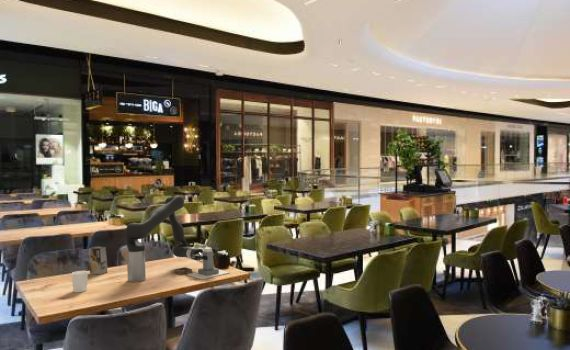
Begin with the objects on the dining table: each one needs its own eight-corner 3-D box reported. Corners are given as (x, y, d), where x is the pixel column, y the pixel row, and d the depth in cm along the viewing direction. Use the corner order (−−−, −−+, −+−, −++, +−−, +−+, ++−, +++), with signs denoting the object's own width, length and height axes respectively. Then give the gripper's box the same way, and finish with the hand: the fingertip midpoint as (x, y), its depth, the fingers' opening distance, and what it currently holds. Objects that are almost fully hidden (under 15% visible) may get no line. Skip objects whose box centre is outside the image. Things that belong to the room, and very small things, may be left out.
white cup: (83, 288, 258) (82, 269, 258) (90, 290, 253) (90, 271, 253) (69, 291, 252) (68, 272, 252) (76, 293, 247) (75, 274, 247)
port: (202, 279, 272) (202, 274, 271) (187, 275, 283) (187, 270, 283) (229, 273, 285) (229, 268, 285) (214, 269, 297) (214, 264, 297)
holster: (180, 274, 285) (180, 271, 284) (173, 272, 290) (173, 269, 290) (191, 272, 290) (191, 269, 290) (184, 270, 296) (184, 267, 296)
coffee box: (108, 272, 296) (107, 246, 295) (101, 274, 290) (100, 248, 289) (95, 271, 298) (95, 246, 298) (89, 273, 292) (88, 248, 292)
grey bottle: (207, 270, 281) (206, 249, 281) (203, 269, 284) (202, 248, 284) (213, 269, 284) (213, 247, 284) (209, 268, 288) (208, 247, 287)
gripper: (184, 249, 289) (200, 253, 277) (204, 246, 299) (220, 249, 287) (185, 261, 290) (201, 265, 277) (204, 257, 299) (220, 261, 287)
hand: (210, 257), depth 282 cm, fingers closed on grey bottle, 4 cm apart
